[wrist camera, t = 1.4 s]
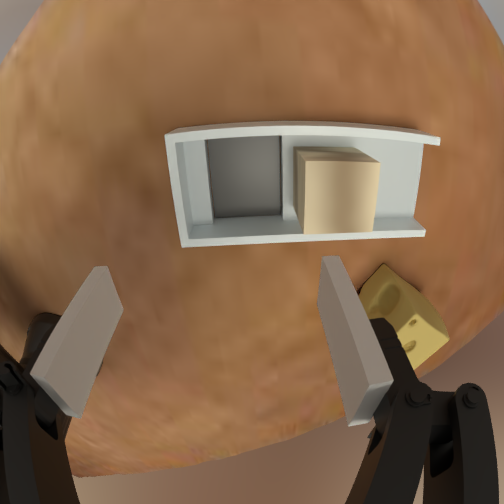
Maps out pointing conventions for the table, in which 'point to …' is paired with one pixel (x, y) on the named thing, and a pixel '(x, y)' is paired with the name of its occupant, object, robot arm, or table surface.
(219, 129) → the channel
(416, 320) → the cheese
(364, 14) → the table surface
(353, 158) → the block
